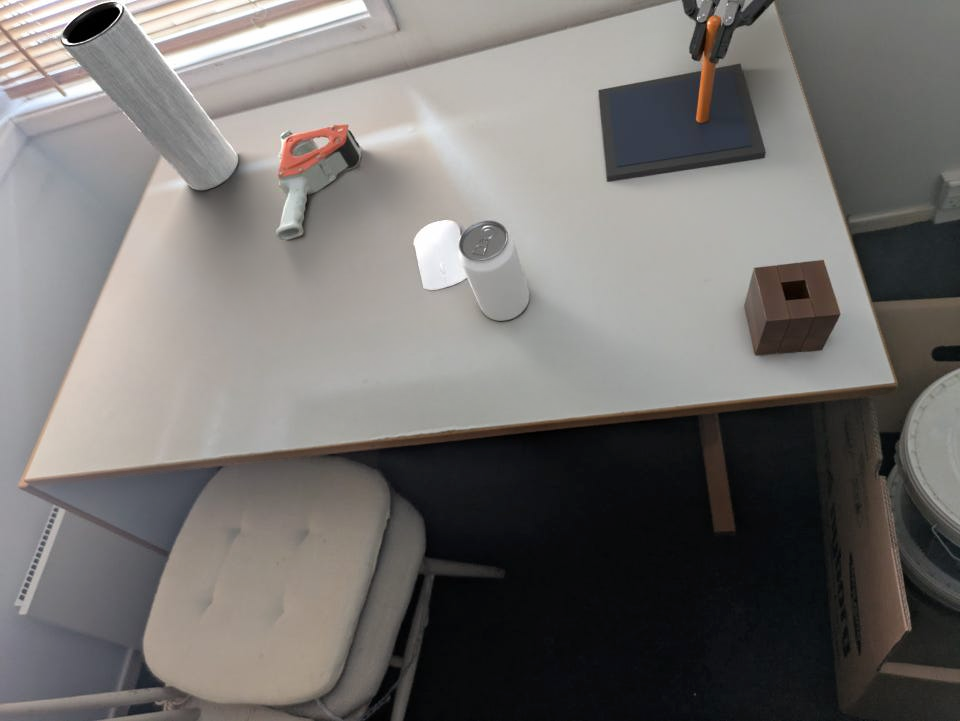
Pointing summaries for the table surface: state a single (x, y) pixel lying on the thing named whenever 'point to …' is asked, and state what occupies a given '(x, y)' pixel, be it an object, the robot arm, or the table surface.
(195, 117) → the vase
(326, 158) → the tape dispenser
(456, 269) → the computer mouse
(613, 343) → the table surface
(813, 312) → the pen holder
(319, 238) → the table surface
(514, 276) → the can
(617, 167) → the tablet
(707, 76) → the stylus
